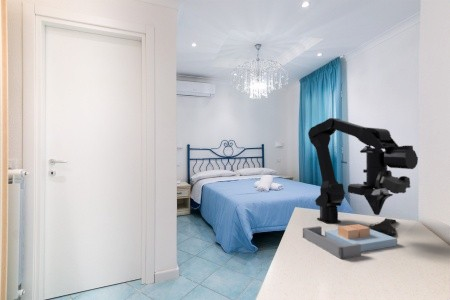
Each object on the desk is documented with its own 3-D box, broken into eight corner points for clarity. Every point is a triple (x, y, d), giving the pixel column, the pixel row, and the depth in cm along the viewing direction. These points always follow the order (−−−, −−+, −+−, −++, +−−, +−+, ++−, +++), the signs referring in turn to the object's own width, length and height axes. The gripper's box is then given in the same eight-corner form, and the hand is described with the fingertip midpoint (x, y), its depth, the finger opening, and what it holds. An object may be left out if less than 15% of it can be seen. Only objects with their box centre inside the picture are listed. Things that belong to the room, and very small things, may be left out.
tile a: (349, 233, 73) (349, 225, 73) (358, 231, 75) (358, 224, 75) (359, 237, 70) (359, 229, 70) (369, 236, 71) (369, 228, 71)
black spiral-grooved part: (404, 216, 91) (391, 227, 73) (405, 225, 91) (391, 239, 73) (380, 212, 97) (362, 222, 79) (380, 221, 97) (362, 233, 79)
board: (324, 237, 75) (324, 230, 75) (362, 231, 80) (362, 226, 80) (355, 252, 64) (355, 245, 64) (397, 245, 69) (397, 238, 69)
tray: (302, 237, 75) (302, 228, 75) (319, 235, 77) (319, 226, 77) (340, 259, 60) (340, 247, 60) (361, 255, 62) (360, 244, 62)
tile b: (337, 234, 72) (337, 226, 72) (347, 233, 73) (347, 225, 73) (348, 239, 68) (348, 230, 68) (358, 237, 70) (358, 229, 70)
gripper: (378, 169, 64) (378, 225, 64) (424, 168, 70) (424, 219, 70) (346, 166, 75) (346, 214, 75) (388, 165, 80) (388, 210, 80)
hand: (376, 214), depth 75 cm, fingers closed
